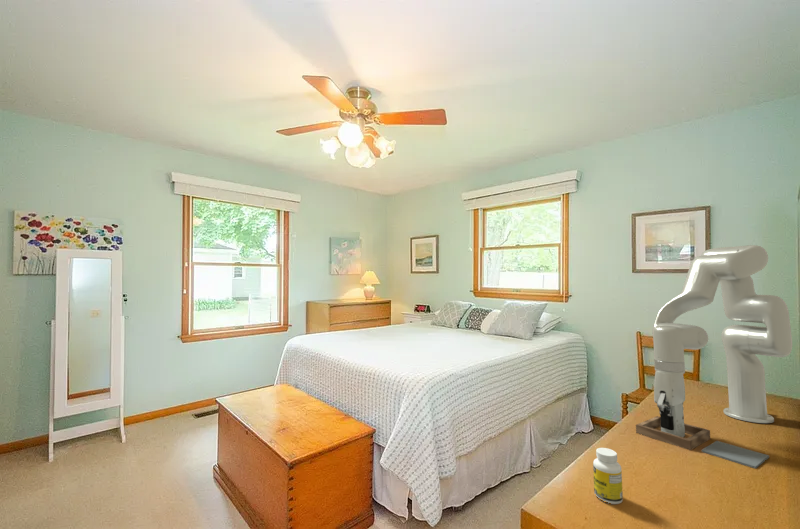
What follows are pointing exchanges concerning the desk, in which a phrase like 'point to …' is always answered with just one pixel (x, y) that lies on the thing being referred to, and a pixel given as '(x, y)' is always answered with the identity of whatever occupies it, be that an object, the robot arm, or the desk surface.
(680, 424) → the skincare box
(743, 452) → the pad
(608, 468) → the supplement bottle
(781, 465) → the desk surface
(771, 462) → the desk surface
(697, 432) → the brown wooden frame
